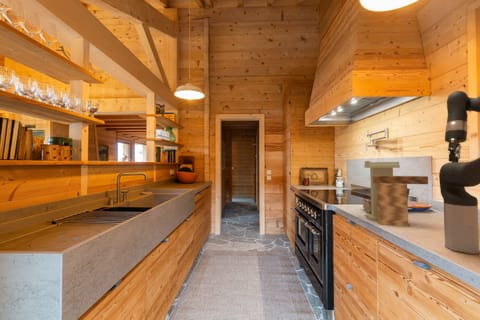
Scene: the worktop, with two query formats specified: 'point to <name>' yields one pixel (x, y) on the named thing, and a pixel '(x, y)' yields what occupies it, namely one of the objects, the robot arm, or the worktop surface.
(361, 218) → the worktop surface
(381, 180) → the walnut rod
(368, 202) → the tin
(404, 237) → the worktop surface
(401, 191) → the block
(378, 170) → the t-shaped pedestal stand
